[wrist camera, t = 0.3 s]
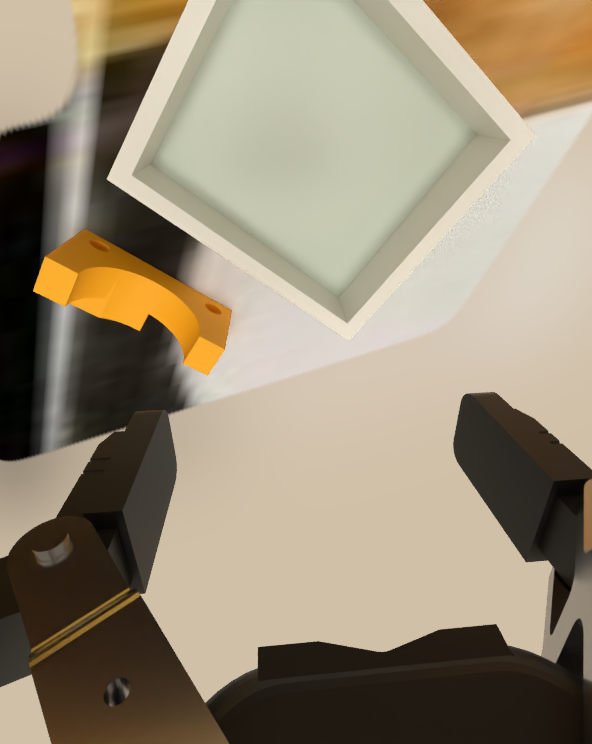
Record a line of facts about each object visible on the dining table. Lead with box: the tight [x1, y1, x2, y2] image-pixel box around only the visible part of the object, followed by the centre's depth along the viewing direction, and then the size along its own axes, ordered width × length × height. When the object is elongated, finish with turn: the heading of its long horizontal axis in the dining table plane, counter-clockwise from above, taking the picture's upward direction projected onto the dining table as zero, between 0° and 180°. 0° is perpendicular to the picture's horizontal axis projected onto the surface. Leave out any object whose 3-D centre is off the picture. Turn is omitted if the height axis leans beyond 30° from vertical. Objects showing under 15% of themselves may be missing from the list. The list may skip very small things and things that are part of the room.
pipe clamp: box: [33, 229, 232, 375], centre depth 30 cm, size 12×4×6 cm, turn 56°
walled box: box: [107, 0, 536, 341], centre depth 25 cm, size 16×18×6 cm
